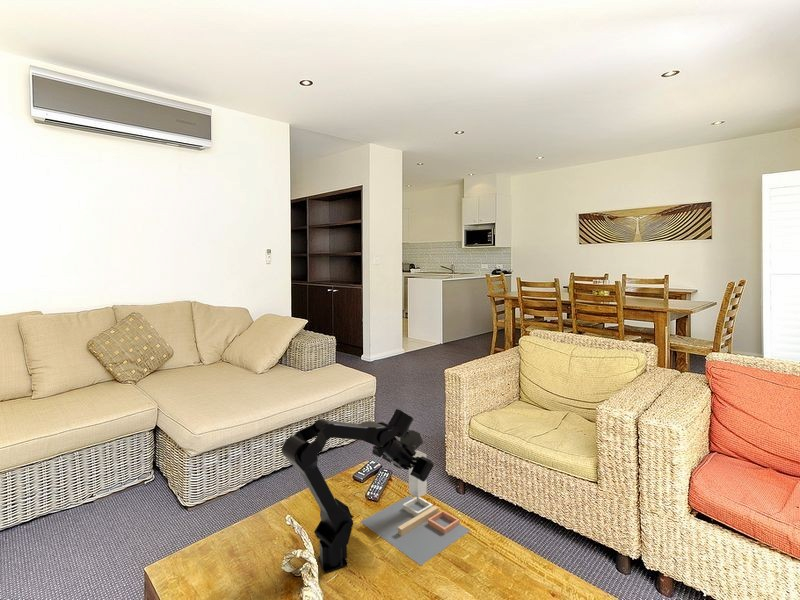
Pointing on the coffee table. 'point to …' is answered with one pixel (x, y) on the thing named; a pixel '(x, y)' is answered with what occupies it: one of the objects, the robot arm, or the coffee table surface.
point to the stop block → (417, 481)
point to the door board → (413, 530)
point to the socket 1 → (407, 505)
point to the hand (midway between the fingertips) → (420, 472)
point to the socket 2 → (444, 530)
